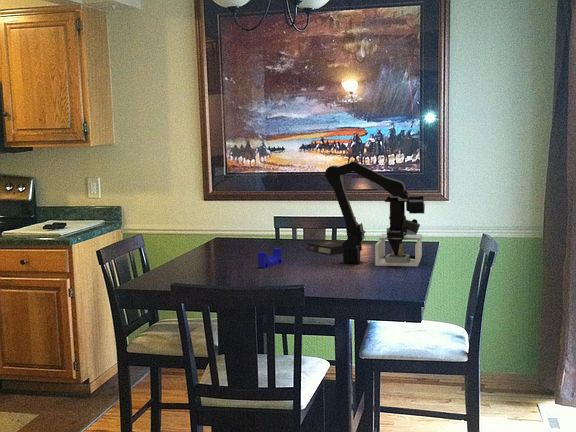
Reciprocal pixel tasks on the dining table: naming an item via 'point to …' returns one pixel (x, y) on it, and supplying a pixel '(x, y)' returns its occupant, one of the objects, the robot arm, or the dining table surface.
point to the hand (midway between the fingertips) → (397, 253)
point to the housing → (396, 261)
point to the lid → (409, 236)
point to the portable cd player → (329, 247)
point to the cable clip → (269, 258)
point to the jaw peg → (399, 251)
